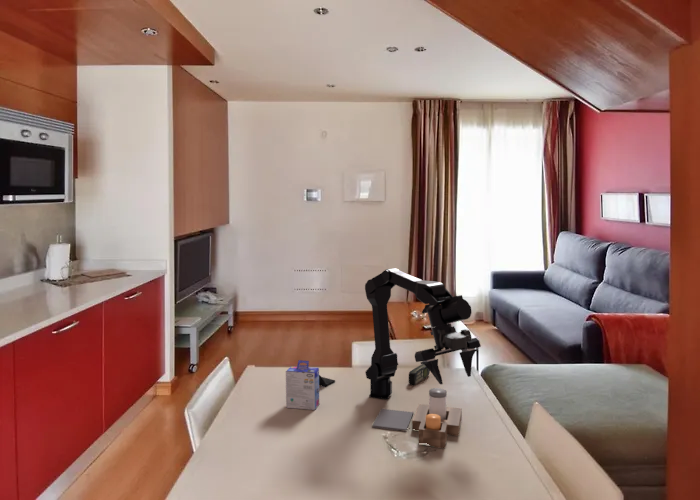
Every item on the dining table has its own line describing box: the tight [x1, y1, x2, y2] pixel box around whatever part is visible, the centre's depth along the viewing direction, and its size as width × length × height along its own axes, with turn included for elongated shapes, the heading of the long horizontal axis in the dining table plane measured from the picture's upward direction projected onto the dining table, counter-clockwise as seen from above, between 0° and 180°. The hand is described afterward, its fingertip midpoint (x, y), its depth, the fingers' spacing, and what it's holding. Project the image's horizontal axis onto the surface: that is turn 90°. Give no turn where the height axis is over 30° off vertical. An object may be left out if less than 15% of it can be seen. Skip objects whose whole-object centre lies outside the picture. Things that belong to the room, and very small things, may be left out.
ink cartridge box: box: [285, 359, 320, 411], centre depth 161 cm, size 10×6×14 cm, turn 79°
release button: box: [426, 414, 441, 430], centre depth 137 cm, size 4×4×4 cm
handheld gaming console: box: [319, 374, 336, 388], centre depth 181 cm, size 12×7×10 cm
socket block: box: [411, 403, 463, 449], centre depth 143 cm, size 13×20×4 cm, turn 164°
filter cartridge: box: [428, 387, 448, 420], centre depth 147 cm, size 5×5×10 cm
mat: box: [371, 408, 414, 431], centre depth 150 cm, size 10×12×1 cm
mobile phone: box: [408, 364, 431, 386], centre depth 184 cm, size 5×3×15 cm
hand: (455, 380), depth 141 cm, fingers open, 9 cm apart
